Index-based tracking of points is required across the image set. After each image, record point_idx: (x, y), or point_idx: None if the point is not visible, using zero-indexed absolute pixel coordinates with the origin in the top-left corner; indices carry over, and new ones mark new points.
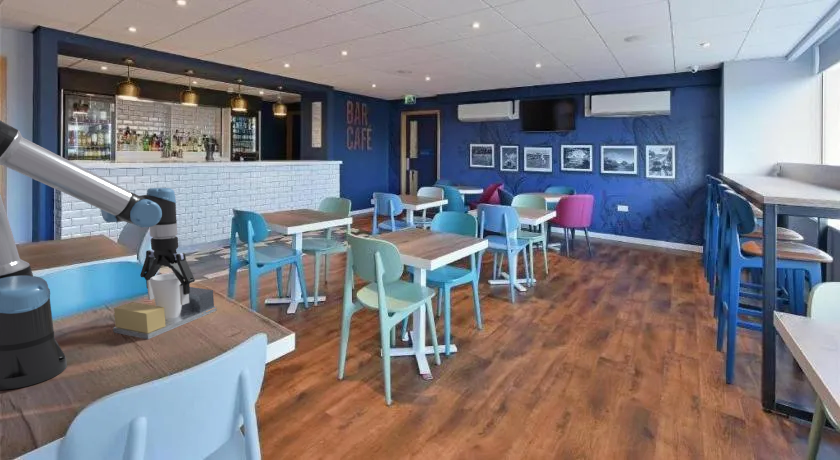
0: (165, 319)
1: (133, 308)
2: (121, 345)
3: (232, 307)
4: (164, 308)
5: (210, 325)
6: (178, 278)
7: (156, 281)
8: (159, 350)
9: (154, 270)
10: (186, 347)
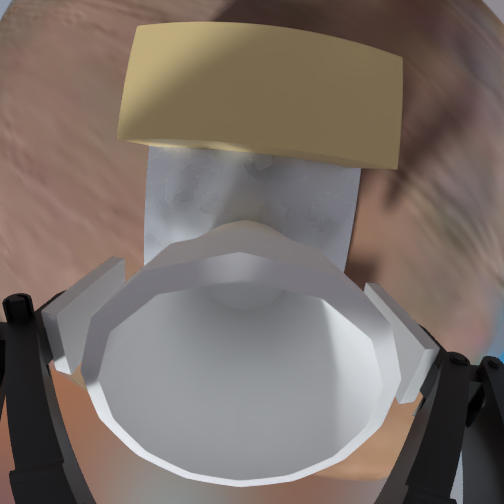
0: (224, 217)
1: (287, 59)
2: (221, 3)
3: None
4: (218, 227)
5: (63, 252)
6: (32, 353)
7: (217, 252)
8: (76, 32)
9: (414, 442)
10: (25, 84)
